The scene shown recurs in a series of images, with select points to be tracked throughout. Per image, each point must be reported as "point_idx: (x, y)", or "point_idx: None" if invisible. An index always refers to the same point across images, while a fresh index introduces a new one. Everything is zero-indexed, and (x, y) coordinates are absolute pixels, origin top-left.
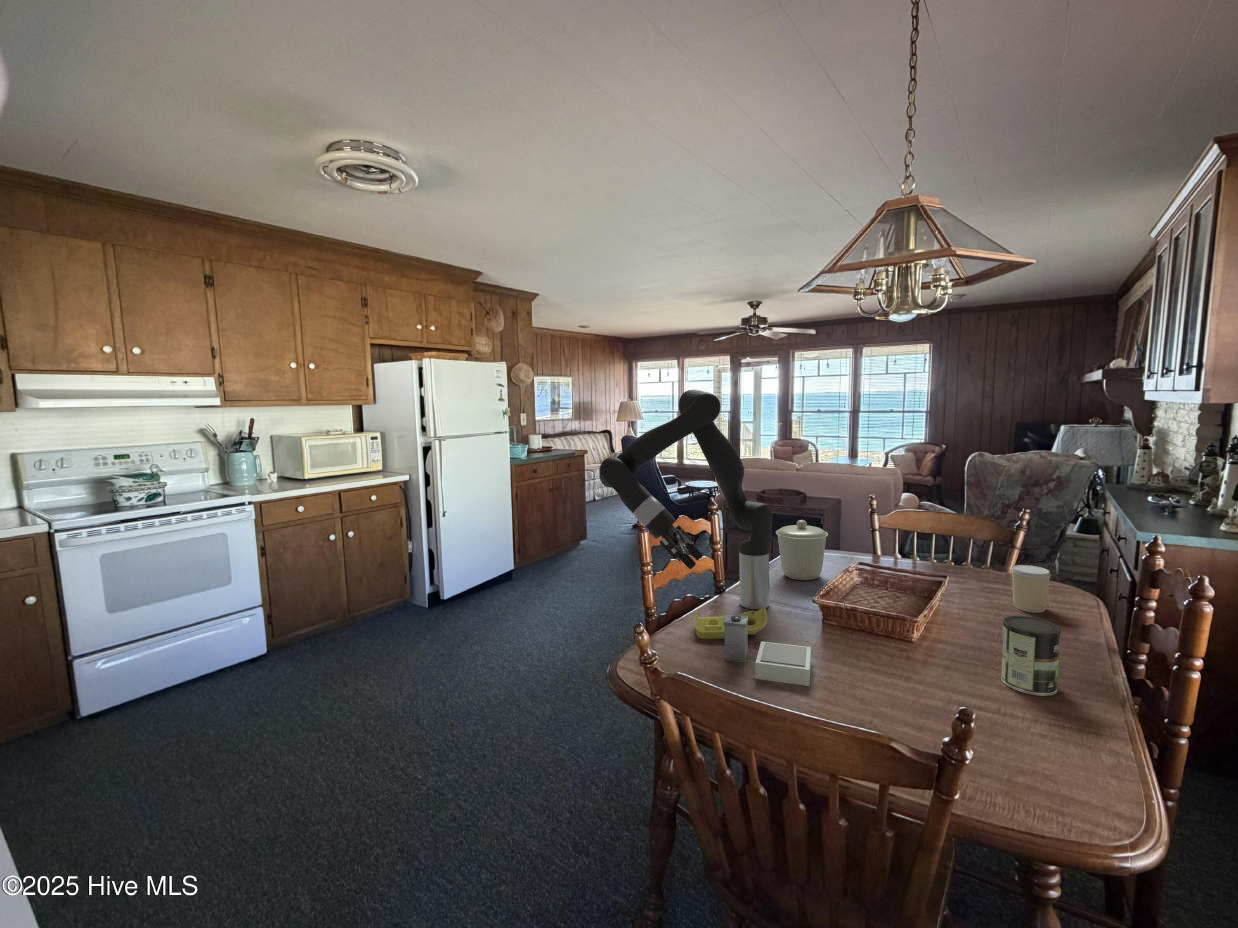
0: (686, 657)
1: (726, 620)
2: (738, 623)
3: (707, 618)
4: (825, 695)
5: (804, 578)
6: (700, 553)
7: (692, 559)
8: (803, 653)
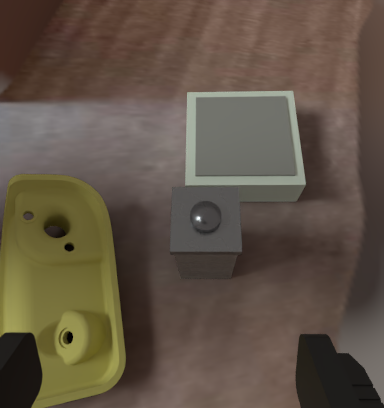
0: (251, 386)
1: (224, 245)
2: (237, 206)
3: None
4: (306, 92)
5: None
6: (17, 349)
7: (321, 366)
8: (228, 101)
